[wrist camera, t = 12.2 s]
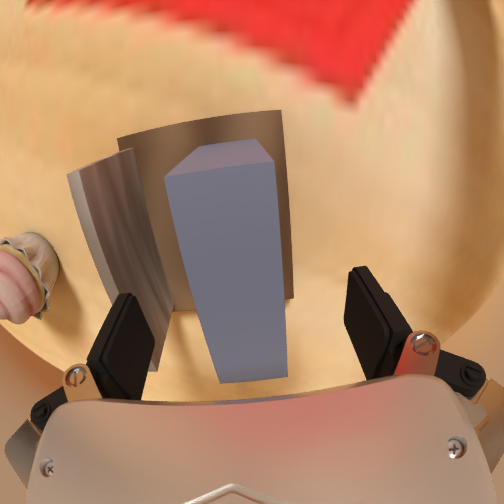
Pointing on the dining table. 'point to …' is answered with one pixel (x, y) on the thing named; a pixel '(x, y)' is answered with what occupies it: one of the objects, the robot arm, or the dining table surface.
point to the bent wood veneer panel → (162, 211)
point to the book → (233, 255)
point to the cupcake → (26, 276)
